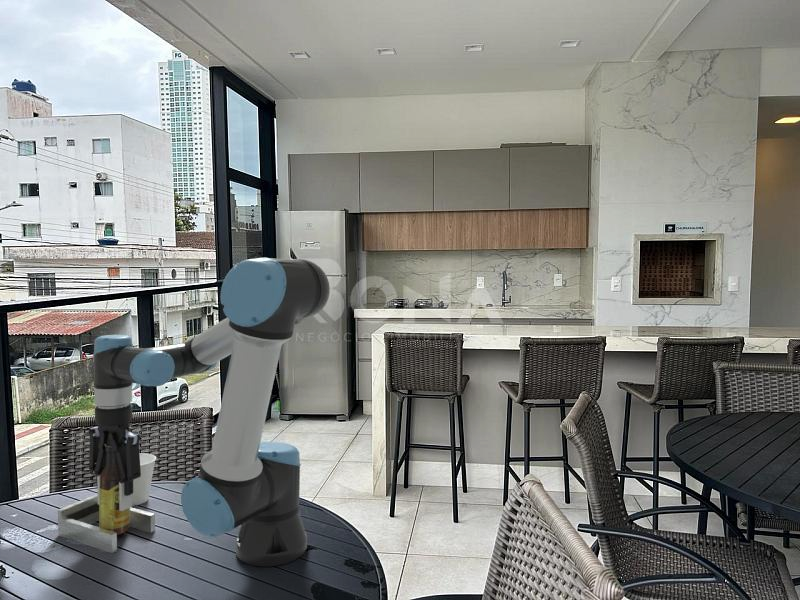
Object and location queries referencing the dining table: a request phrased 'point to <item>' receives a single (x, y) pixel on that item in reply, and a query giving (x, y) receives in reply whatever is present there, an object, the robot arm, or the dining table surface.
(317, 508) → the dining table surface
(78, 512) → the frame
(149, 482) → the cup
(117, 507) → the sauce bottle
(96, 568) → the dining table surface
